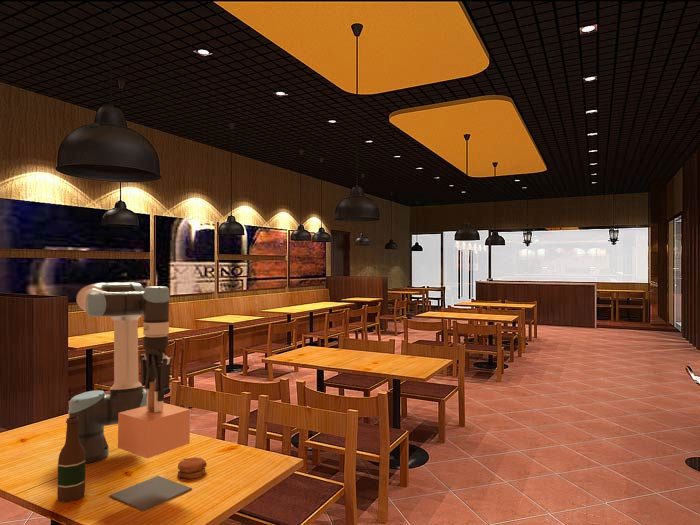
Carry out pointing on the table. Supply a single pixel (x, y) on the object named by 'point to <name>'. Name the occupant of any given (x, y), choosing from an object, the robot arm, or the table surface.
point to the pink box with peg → (153, 428)
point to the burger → (191, 467)
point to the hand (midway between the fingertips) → (154, 410)
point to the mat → (150, 493)
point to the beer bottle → (71, 465)
